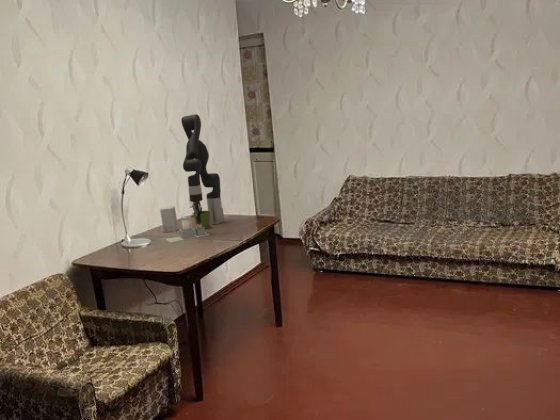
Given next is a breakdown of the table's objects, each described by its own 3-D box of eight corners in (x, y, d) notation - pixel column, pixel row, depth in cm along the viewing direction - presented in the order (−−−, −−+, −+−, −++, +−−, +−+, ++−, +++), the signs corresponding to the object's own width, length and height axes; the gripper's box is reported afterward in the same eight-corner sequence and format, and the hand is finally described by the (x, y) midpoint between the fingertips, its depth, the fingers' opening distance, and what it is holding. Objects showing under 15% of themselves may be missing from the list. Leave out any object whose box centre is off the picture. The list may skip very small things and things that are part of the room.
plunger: (202, 231, 319) (201, 220, 318) (204, 232, 316) (203, 221, 314) (196, 232, 318) (194, 221, 316) (198, 233, 314) (196, 222, 313)
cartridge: (190, 235, 317) (187, 216, 314) (192, 236, 313) (190, 217, 310) (182, 236, 315) (180, 217, 313) (184, 238, 311) (182, 218, 308)
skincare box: (178, 229, 342) (175, 206, 339) (175, 232, 336) (172, 208, 333) (166, 230, 343) (163, 206, 340) (162, 232, 337) (159, 209, 334)
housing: (204, 234, 323) (203, 224, 322) (209, 237, 314) (208, 227, 313) (166, 241, 314) (164, 231, 313) (170, 244, 305) (168, 234, 304)
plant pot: (190, 232, 332) (188, 214, 330) (200, 227, 343) (198, 210, 341) (207, 232, 328) (205, 214, 326) (216, 227, 338) (214, 210, 336)
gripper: (204, 193, 308) (208, 222, 311) (198, 190, 319) (201, 218, 323) (192, 195, 305) (195, 224, 308) (186, 192, 316) (189, 220, 320)
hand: (198, 221), depth 315 cm, fingers closed
